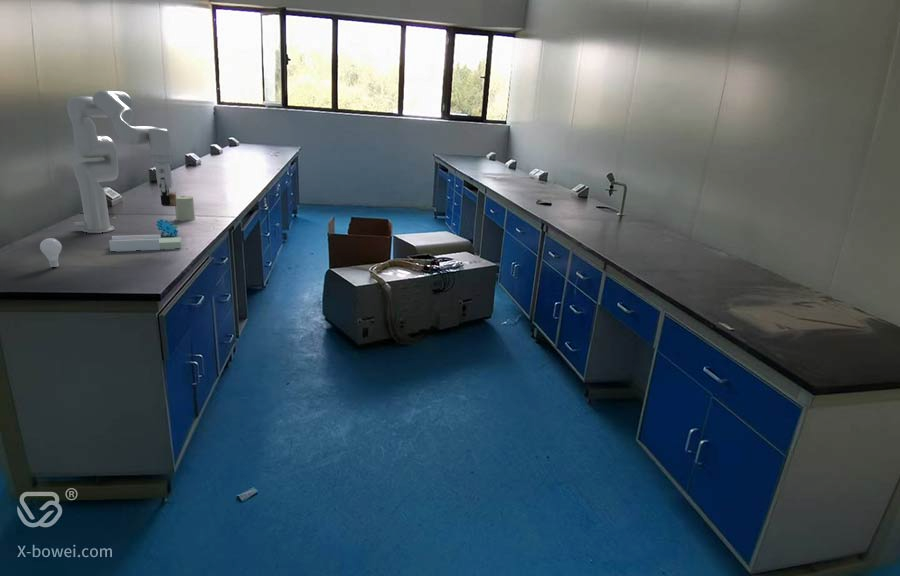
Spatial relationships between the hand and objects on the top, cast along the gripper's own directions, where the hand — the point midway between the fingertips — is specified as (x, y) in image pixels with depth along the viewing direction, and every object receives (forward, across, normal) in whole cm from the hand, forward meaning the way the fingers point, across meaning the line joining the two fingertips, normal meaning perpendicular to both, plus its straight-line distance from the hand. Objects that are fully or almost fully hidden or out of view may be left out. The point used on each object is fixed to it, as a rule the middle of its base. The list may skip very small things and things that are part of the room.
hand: (166, 203), depth 226 cm
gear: (+19, +21, +2) cm, 28 cm away
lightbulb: (+19, -24, +37) cm, 48 cm away
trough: (+19, 0, +9) cm, 21 cm away
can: (+19, +57, -4) cm, 60 cm away
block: (+1, 0, -1) cm, 2 cm away
